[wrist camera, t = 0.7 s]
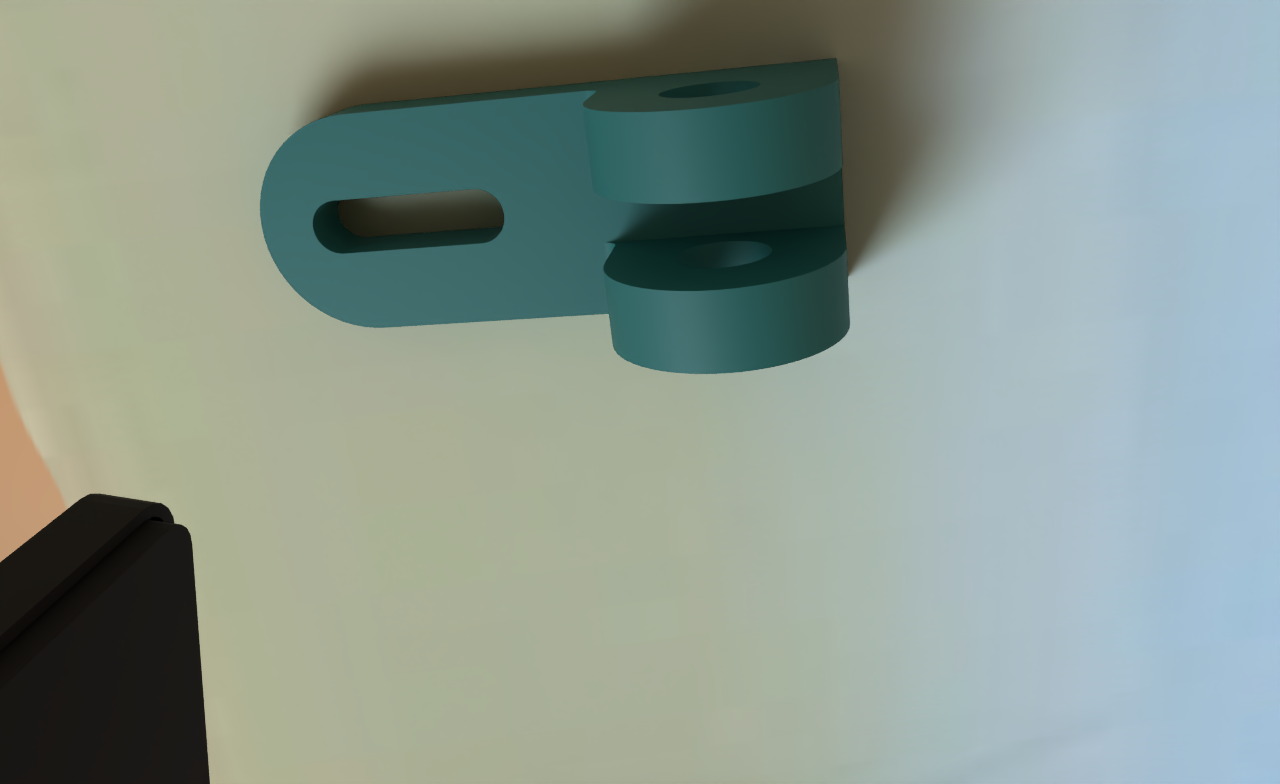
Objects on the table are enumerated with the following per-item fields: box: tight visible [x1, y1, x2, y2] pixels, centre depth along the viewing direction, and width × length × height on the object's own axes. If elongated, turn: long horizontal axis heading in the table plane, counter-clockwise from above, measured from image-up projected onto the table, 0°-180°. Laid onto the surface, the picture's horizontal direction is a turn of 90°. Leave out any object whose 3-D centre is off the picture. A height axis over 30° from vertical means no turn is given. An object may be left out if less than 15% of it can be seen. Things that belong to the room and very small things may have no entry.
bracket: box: [260, 58, 850, 374], centre depth 33 cm, size 18×7×8 cm, turn 96°
